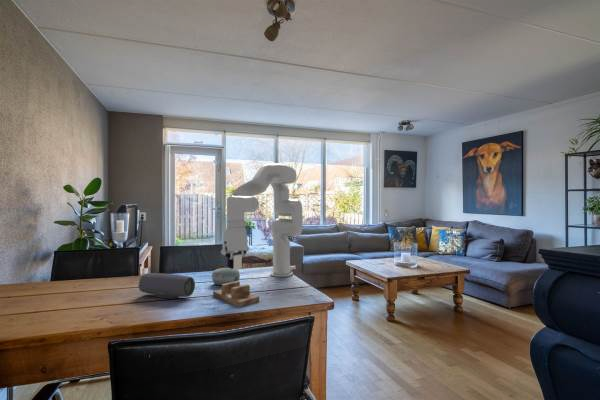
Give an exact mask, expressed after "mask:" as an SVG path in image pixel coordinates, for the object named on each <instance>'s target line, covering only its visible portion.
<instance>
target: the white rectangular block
mask: <svg viewBox="0 0 600 400" xmlns="http://www.w3.org/2000/svg"><path fill="white" fill-rule="evenodd" d="M232 259H233V270H236V269H237V270H240V269H241V270H242V268H243V267H242V253H239V252H238V251H236V252H233V258H232ZM229 269H231V268H229Z"/></svg>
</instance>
